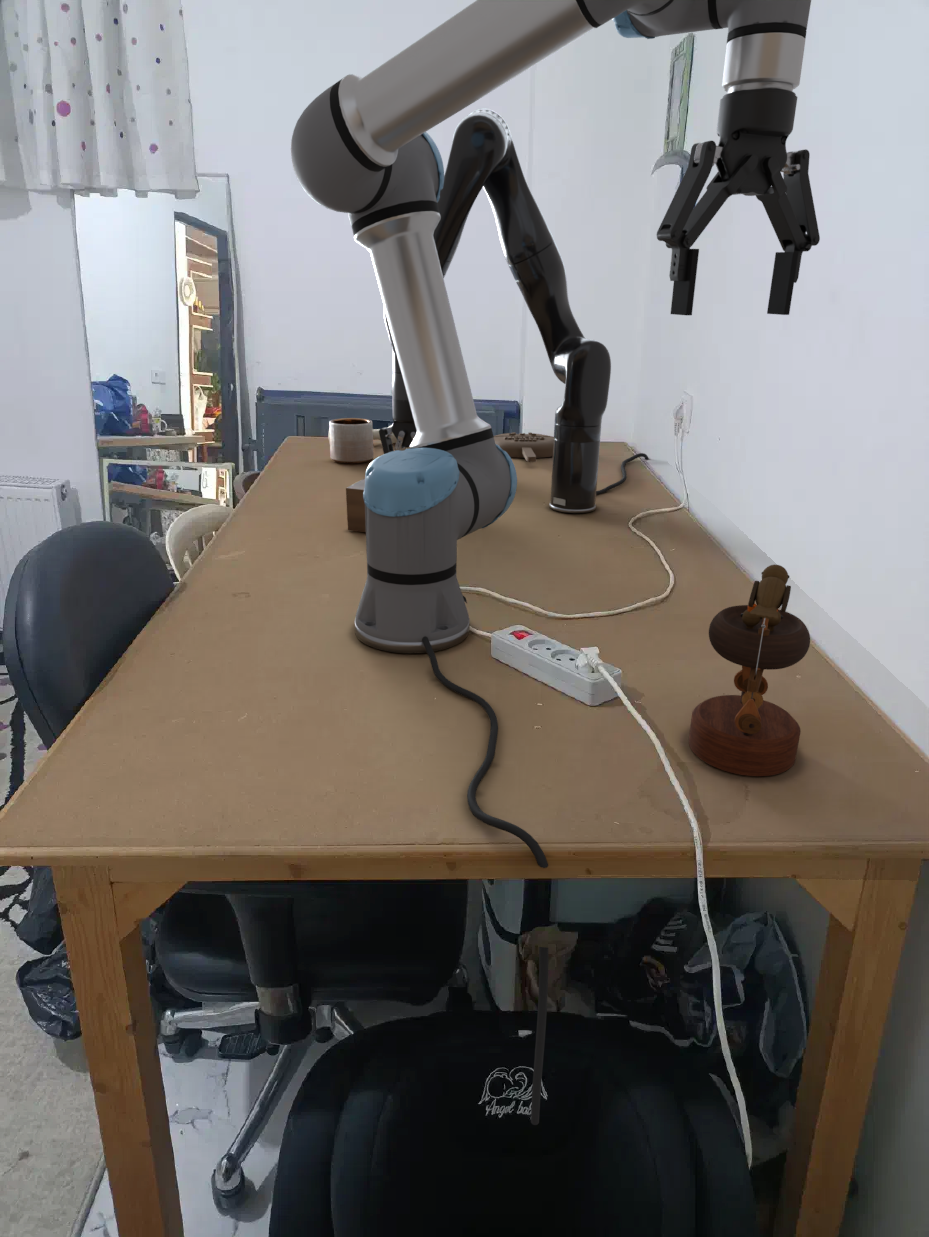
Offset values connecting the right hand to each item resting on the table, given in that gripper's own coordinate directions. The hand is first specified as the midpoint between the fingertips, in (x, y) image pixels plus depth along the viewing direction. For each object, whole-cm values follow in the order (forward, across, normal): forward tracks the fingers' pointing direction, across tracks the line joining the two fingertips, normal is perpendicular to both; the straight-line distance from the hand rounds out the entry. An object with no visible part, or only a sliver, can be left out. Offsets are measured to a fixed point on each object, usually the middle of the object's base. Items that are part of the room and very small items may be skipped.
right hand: (412, 479), depth 175 cm
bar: (+4, 0, +11) cm, 11 cm away
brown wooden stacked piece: (+5, -70, +78) cm, 105 cm away
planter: (+5, +30, -32) cm, 44 cm away
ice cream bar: (+5, -9, -55) cm, 56 cm away
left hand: (-36, -63, +55) cm, 91 cm away
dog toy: (+5, +37, -54) cm, 65 cm away
